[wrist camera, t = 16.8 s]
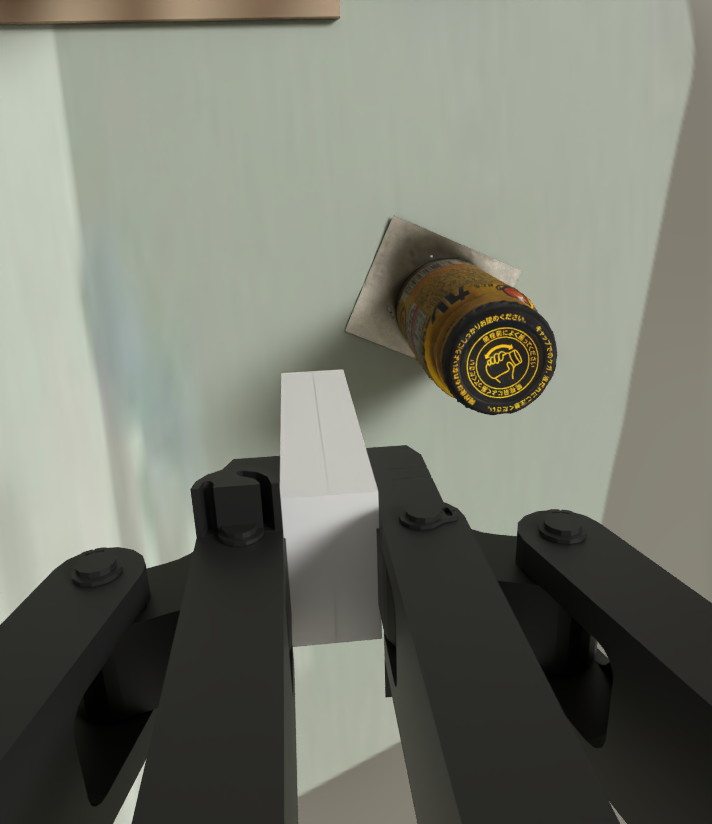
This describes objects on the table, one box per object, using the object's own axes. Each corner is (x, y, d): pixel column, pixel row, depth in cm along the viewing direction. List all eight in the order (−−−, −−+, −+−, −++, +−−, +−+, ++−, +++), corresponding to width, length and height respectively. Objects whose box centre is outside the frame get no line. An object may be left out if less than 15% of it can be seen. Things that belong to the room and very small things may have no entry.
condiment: (467, 378, 43) (532, 454, 32) (344, 330, 41) (367, 392, 30) (520, 270, 41) (609, 310, 30) (392, 214, 39) (436, 234, 28)
